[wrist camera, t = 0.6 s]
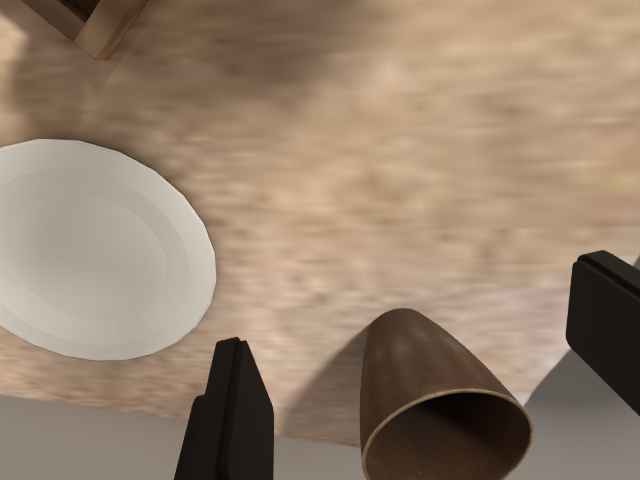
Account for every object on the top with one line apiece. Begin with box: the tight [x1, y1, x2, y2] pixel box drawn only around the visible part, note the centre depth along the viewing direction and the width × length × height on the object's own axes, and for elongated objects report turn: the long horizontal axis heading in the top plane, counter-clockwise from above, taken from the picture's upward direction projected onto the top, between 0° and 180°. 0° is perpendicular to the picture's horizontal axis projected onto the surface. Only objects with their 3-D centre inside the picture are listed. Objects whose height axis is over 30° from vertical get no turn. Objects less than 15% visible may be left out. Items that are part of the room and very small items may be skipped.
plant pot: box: [360, 308, 533, 480], centre depth 39 cm, size 15×15×16 cm
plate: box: [0, 139, 217, 361], centre depth 38 cm, size 25×25×2 cm
